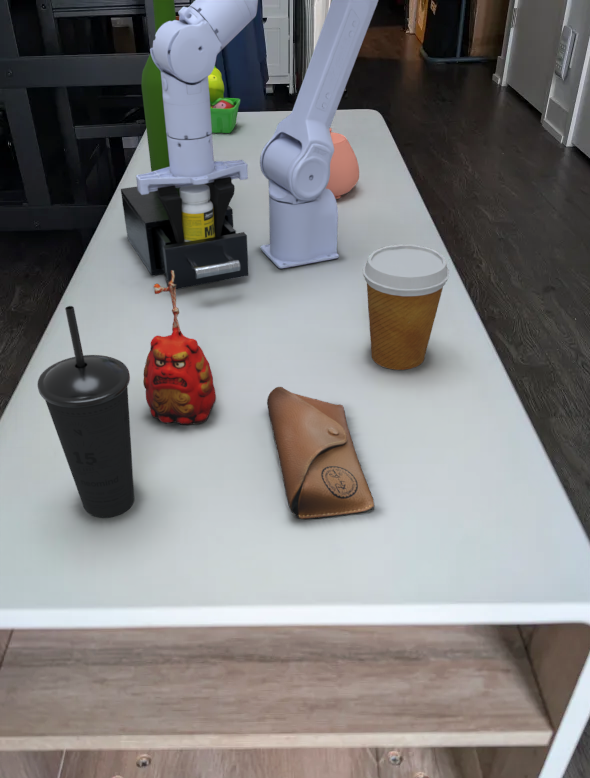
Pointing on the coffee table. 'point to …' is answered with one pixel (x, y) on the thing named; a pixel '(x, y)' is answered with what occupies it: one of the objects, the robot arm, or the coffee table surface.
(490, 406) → the coffee table surface
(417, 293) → the disposable coffee cup
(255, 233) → the coffee table surface
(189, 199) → the supplement bottle
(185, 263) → the drawer
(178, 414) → the red clay folk toy
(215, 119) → the fruit basket
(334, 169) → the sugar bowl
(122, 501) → the drinking cup
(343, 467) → the sunglasses case
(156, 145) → the wine bottle
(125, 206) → the black drawer box
